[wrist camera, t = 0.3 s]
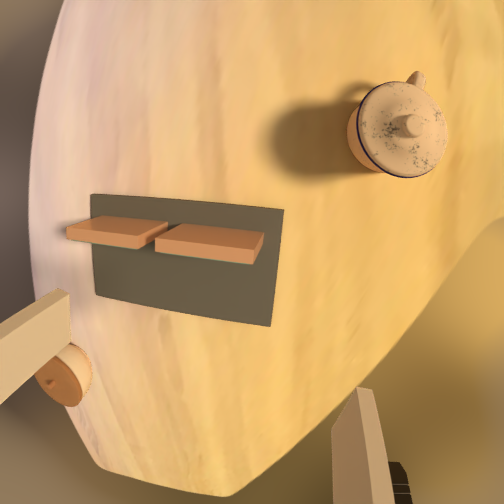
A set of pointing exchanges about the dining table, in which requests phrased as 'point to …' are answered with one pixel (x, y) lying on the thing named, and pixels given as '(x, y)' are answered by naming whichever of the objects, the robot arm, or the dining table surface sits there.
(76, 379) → the lidded jar
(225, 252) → the tile near
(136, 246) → the tile far
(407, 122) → the teacup with lid
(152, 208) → the mat
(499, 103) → the dining table surface
